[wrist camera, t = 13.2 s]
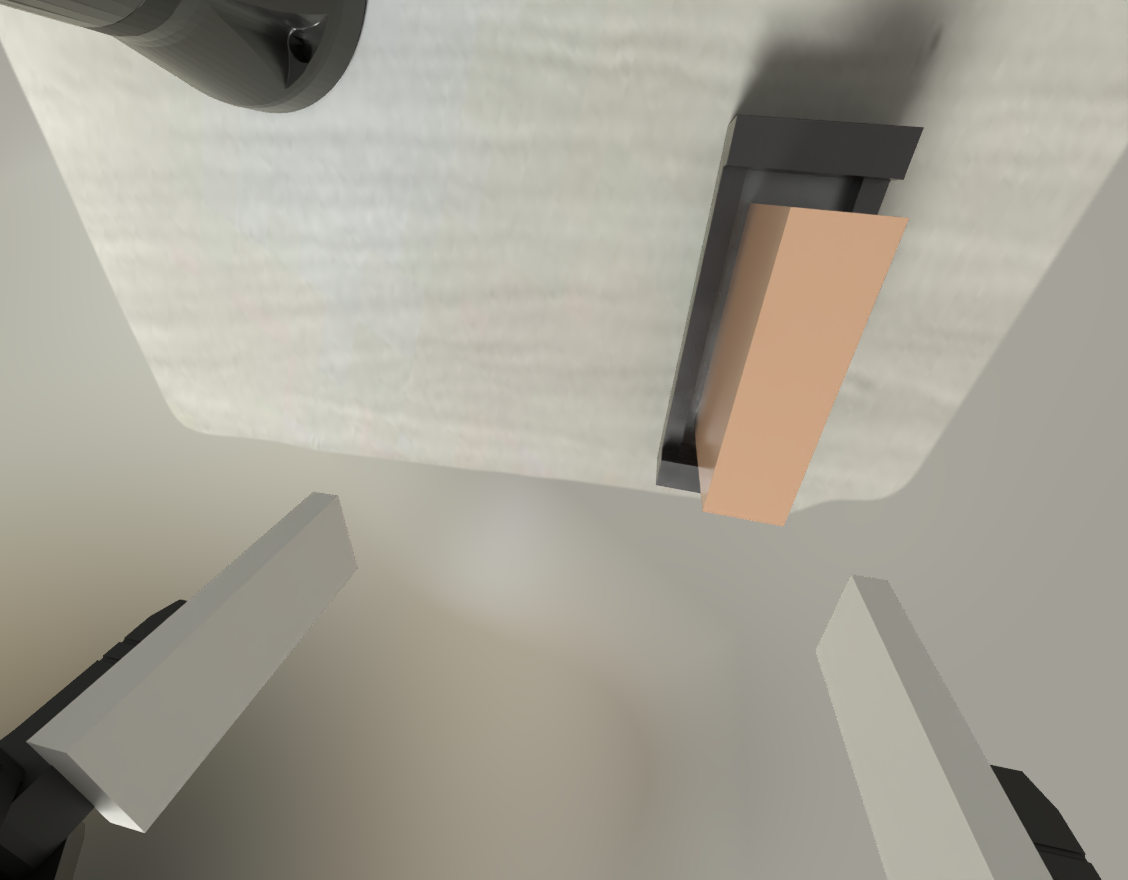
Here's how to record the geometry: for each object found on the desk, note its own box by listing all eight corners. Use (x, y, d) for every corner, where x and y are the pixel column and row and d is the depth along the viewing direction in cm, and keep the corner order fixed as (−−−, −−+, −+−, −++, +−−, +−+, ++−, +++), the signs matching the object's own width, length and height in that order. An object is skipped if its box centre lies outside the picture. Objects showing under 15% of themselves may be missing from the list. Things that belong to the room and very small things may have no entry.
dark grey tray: (728, 126, 25) (737, 114, 21) (886, 137, 24) (923, 127, 20) (657, 456, 35) (655, 485, 31) (765, 475, 34) (776, 506, 30)
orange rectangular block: (750, 203, 25) (790, 206, 17) (826, 210, 25) (909, 218, 16) (694, 426, 32) (702, 511, 23) (752, 435, 31) (783, 526, 23)
